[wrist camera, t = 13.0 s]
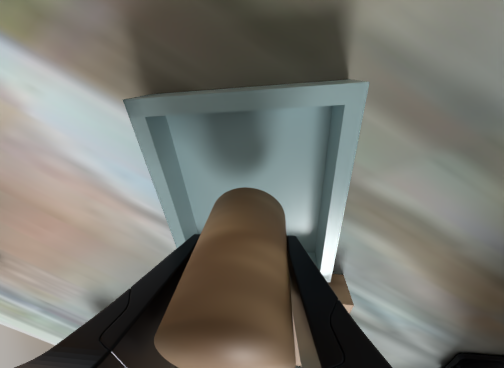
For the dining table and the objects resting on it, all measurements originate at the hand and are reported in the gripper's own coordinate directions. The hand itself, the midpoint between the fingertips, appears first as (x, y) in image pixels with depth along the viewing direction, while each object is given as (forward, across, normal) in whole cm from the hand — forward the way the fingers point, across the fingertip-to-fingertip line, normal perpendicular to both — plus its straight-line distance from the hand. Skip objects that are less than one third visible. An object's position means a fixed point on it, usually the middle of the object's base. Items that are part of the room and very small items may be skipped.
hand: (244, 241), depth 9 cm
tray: (+5, 0, 0) cm, 5 cm away
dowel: (+2, 0, 0) cm, 2 cm away
